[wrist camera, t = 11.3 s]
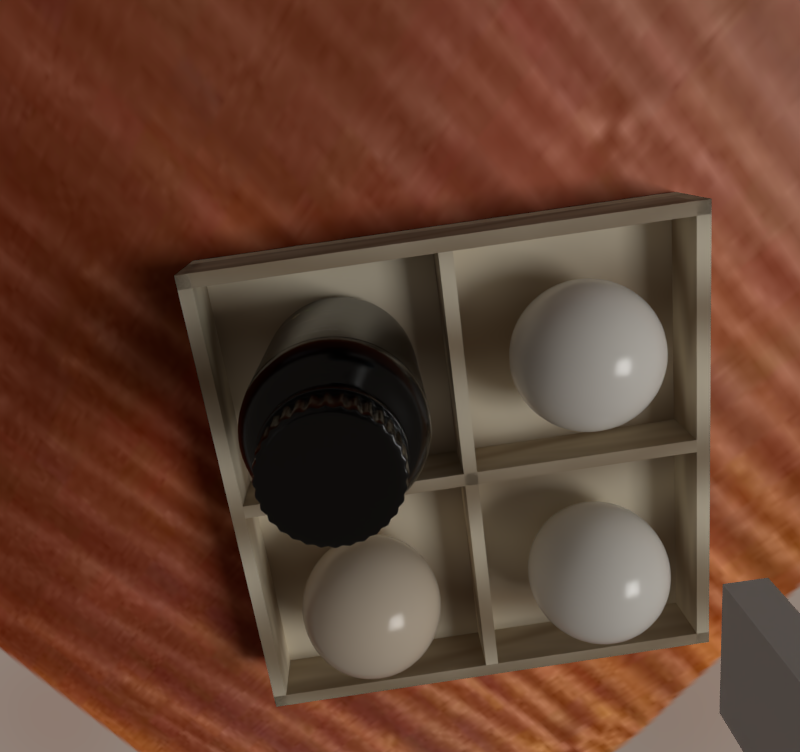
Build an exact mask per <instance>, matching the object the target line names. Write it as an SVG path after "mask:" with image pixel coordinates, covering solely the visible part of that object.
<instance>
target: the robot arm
mask: <svg viewBox="0 0 800 752" xmlns="http://www.w3.org/2000/svg"><path fill="white" fill-rule="evenodd" d="M720 714H721V715H722V717H723V719H724V721H725V722H726V724H727V726H728V727H729V729H730V730H731V732H732V734H733V735H734V737H735V739H736V740H737V742H738V744H739V745H740V747H741V748H742V750H743V752H800V613H799V612H798V611H797V610H796V609H795V607H794V606H793V605H792V604H791V603H790V602H789V601H788V600H787V598H786V597H785V596H784V595H783V594H782V593H781V592H780V591H779V590H778V588H777V587H776V586H775V585H774V584H773V583H772V582H771V581H770V580H769V578H764V579H757V580H750V581H742V582H735V583H728V584H723V599H722V639H721V680H720Z"/></svg>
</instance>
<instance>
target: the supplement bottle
mask: <svg viewBox="0 0 800 752" xmlns="http://www.w3.org/2000/svg"><path fill="white" fill-rule="evenodd" d="M238 442H239V448H240V452H241V455H242V459H243V461H244V464H245V466H246V468H247V470H248V472H249V474H250V476H251V477H252V485H253V487H254V488H255V498H256V500H257V501H258V502H259V503H260V509H261V511H262V512H263V513H265V514H266V515H267V516H268V520H269V522H271V523H272V524H274V525H276V526H277V528H278V529H279V531H280V532H283V533H286V534H288V535H289V536H290V537H291V538H292V539H294V540H300V541H302V542H303V543H304V544H306V545H316V546H318V547H320V548H322V547H327V546H329V547H333V548H338V547H340V546H343V545H345V546H351V545H353V544H355V543H356V542H363V541H365V540H367V539H368V538H369V537H370V536H373V535H377V534H378V533H379V531H380V530H381V528H384V527H386V526H388V525H389V523H390V520H391V518H393V517H394V516H396V515H397V514H398V510H399V506H401V504H402V503H403V502H404V500H405V495H404V494H405V493H406V492H407V491H408V490H409V489H410V488H411V486H412V485H413V484H414V482H415V481H416V480H417V478H418V476H419V475H420V473H421V471H422V469H423V467H424V465H425V462H426V459H427V457H428V453H429V449H430V443H431V417H430V411H429V406H428V402H427V398H426V394H425V390H424V386H423V382H422V378H421V374H420V370H419V366H418V363H417V359H416V355H415V352H414V349H413V346H412V344H411V341H410V339H409V337H408V336H407V334H406V332H405V331H404V329H403V328H402V327H401V325H400V324H399V323H398V322H397V321H396V320H395V319H394V318H393V317H392V316H391V315H390V314H389V313H387V312H386V311H385V310H383V309H382V308H380V307H378V306H376V305H374V304H372V303H370V302H367V301H364V300H361V299H356V298H350V297H331V298H325V299H321V300H317V301H314V302H312V303H309V304H307V305H305V306H303V307H301V308H300V309H298V310H297V311H295V312H294V313H293V314H292V315H290V316H289V317H288V318H287V319H286V320H285V321H284V322H283V324H282V325H281V326H280V327H279V329H278V330H277V332H276V333H275V335H274V337H273V338H272V340H271V342H270V344H269V346H268V348H267V350H266V352H265V354H264V356H263V358H262V360H261V362H260V364H259V366H258V368H257V370H256V372H255V374H254V376H253V378H252V380H251V382H250V384H249V386H248V388H247V391H246V393H245V396H244V398H243V401H242V405H241V408H240V412H239V418H238Z"/></svg>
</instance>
